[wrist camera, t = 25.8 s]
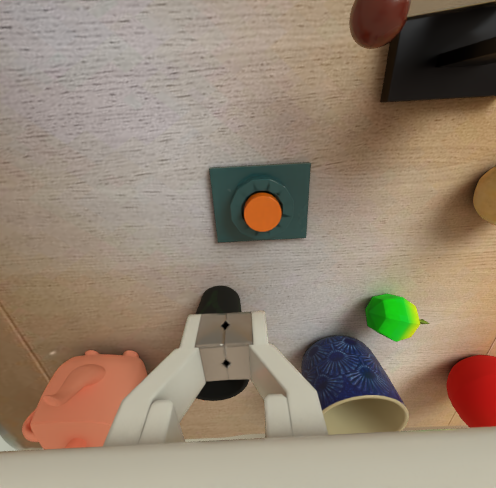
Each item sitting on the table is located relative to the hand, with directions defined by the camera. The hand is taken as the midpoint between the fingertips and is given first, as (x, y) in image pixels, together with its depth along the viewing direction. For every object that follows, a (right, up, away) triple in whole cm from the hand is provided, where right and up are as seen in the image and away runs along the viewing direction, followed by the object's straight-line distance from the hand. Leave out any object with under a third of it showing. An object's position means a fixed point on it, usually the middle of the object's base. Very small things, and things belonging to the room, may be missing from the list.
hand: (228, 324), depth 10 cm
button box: (+2, +8, +20) cm, 21 cm away
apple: (+22, -6, +27) cm, 35 cm away
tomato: (+39, -18, +34) cm, 55 cm away
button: (+2, +7, +18) cm, 19 cm away
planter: (+15, -15, +32) cm, 38 cm away
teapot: (-22, -18, +33) cm, 43 cm away
